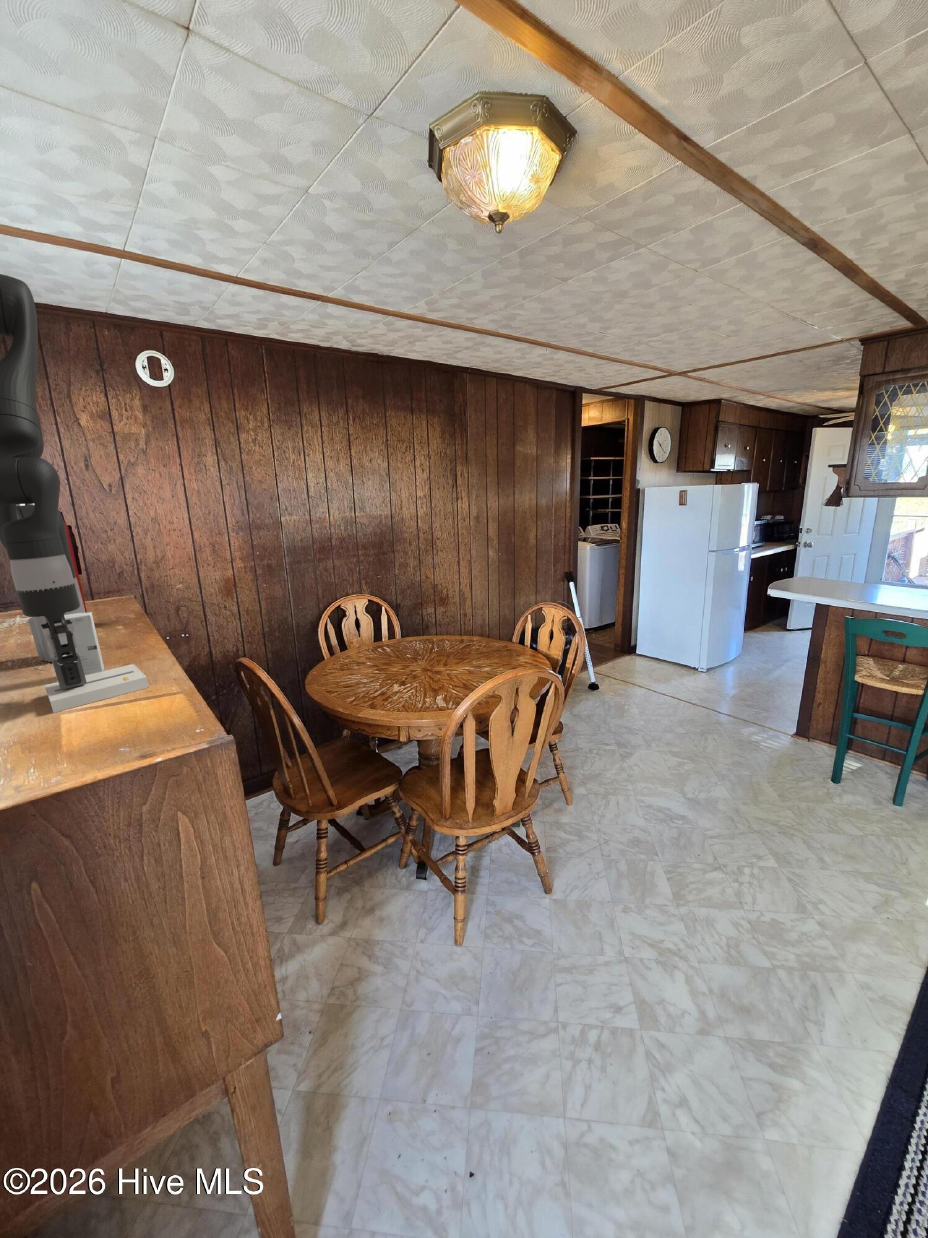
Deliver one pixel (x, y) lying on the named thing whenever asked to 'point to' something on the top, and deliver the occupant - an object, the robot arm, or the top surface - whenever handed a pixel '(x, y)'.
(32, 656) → the top surface
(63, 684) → the fader knob
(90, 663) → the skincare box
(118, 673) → the fader console
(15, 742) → the top surface
